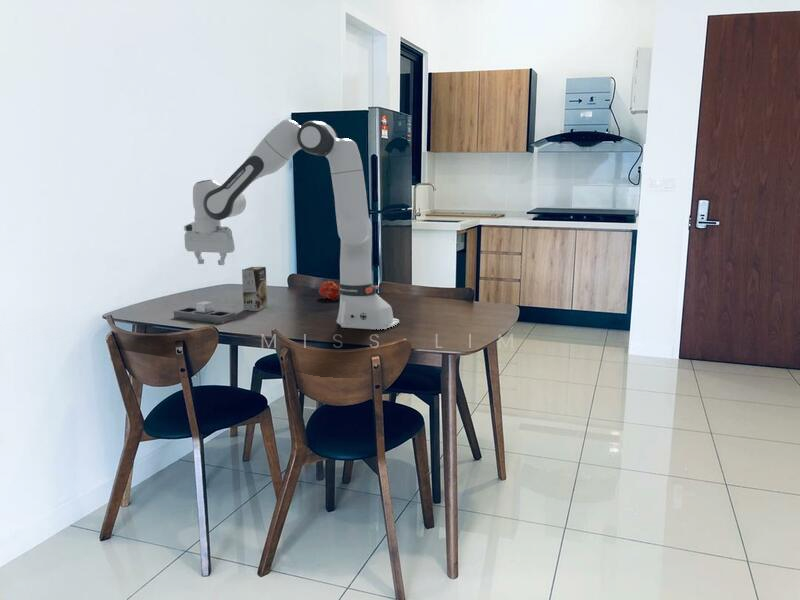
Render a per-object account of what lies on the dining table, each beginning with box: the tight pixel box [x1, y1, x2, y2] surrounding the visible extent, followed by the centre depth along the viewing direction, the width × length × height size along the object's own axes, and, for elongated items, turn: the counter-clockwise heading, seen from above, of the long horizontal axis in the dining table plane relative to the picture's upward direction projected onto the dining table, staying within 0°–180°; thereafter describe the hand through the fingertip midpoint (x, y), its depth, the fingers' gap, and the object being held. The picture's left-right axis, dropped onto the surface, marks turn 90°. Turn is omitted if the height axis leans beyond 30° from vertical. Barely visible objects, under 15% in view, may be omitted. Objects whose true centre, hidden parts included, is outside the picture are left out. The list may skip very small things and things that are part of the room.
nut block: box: [195, 300, 214, 314], centre depth 233 cm, size 4×4×6 cm
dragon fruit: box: [317, 280, 340, 301], centre depth 268 cm, size 8×8×12 cm
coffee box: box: [241, 266, 268, 312], centre depth 249 cm, size 9×6×16 cm
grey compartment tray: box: [173, 306, 237, 324], centre depth 233 cm, size 22×8×2 cm, turn 64°
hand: (211, 264), depth 231 cm, fingers open, 8 cm apart
